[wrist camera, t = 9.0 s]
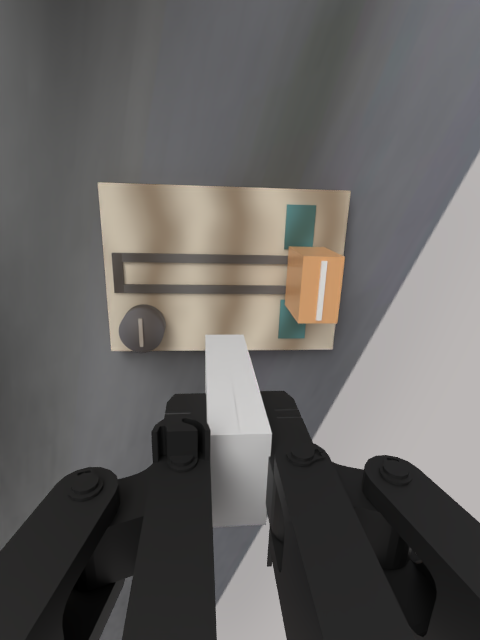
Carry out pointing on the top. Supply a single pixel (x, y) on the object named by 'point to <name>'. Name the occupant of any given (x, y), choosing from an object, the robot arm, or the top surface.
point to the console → (211, 263)
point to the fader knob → (314, 284)
